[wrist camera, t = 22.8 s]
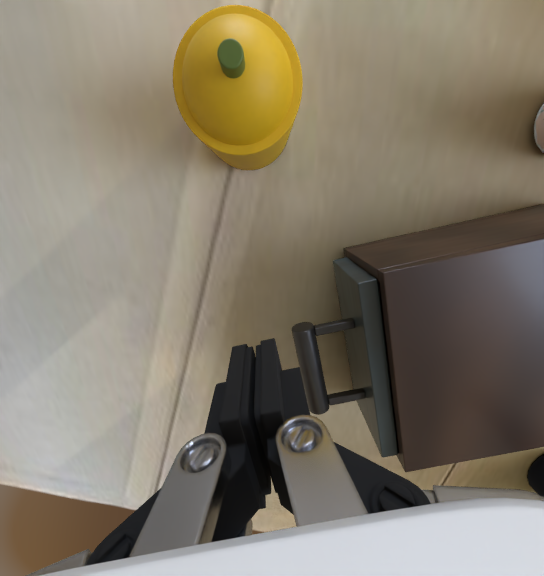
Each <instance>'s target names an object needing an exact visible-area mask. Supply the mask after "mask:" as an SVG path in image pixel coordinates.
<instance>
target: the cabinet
mask: <svg viewBox="0 0 544 576" xmlns="http://www.w3.org/2000/svg"><path fill="white" fill-rule="evenodd" d="M344 256H345V258H348V259H350V260H351V261H353V262H354V263H355V264H357V265H358V266H360V267H361V268H362V269H364V270H365V271H367V272H368V273H369V274H371V275H372V276H374V277H375V278H376V279H377V280H378V282H380V291H381V299H382V308H383V316H384V325H385V334H386V342H387V351H388V360H389V368H390V377H391V385H392V394H393V403H394V407H393V414H394V422H395V431H396V439H397V448H398V455H397V457H398V459H399V461H400V463H401V465H402V467H403V469H404V471H405V472H409V471H414V470H420V469H425V468H431V467H436V466H441V465H447V464H452V463H458V462H463V461H469V460H474V459H479V458H485V457H490V456H496V455H501V454H507V453H512V452H517V451H523V450H528V449H534V448H539V447H544V204H541V205H537V206H532V207H528V208H523V209H519V210H514V211H510V212H505V213H500V214H496V215H491V216H487V217H482V218H478V219H473V220H469V221H464V222H460V223H455V224H451V225H446V226H442V227H437V228H433V229H428V230H423V231H419V232H414V233H410V234H405V235H401V236H396V237H392V238H387V239H383V240H378V241H374V242H369V243H365V244H360V245H356V246H351V247H346V248H344ZM392 406H393V405H392Z"/></svg>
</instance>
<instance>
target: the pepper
mask: <svg viewBox="0 0 544 576" xmlns="http://www.w3.org/2000/svg"><path fill="white" fill-rule="evenodd" d="M173 87H174V94H175V98H176V102H177V105H178V108H179V111H180V113H181V115H182V117H183V119H184V121H185V122H186V124H187V125H188V127H189V128H190V129H191V131H192V132H193V133H194V134H195V135H196V136H197V137H198V138H199V139H200V140H201V141H202V142H203V143H204V144H205V145H206V146H208V147H209V148H210V149H211V150H212V151H213V152H214V153H215V154H216V155H217V156H218V157H220V158H221V159H222V160H223V161H224V162H226V163H227V164H229V165H230V166H232V167H235V168H238V169H241V170H256V169H260V168H263V167H265V166H267V165H269V164H270V163H272V162H273V161H274V160H275V159H276V158H277V157H278V156H279V155H280V154H281V152H282V151H283V149H284V147H285V145H286V143H287V140H288V137H289V134H290V132H291V129H292V126H293V123H294V120H295V117H296V115H297V112H298V109H299V105H300V101H301V96H302V70H301V65H300V61H299V57H298V54H297V51H296V49H295V47H294V45H293V43H292V41H291V39H290V38H289V36H288V35H287V33H286V32H285V31H284V29H283V28H282V27H281V26H280V25H279V24H278V23H277V22H276V21H275V20H274V19H273V18H271V17H270V16H268V15H267V14H265V13H263V12H261V11H259V10H257V9H255V8H251V7H248V6H242V5H227V6H222V7H219V8H216V9H213V10H211V11H209V12H207V13H205V14H204V15H202V16H201V17H200V18H198V19H197V20H196V21H195V22H194V23H193V24H192V25H191V26H190V28H189V29H188V30H187V32H186V33H185V35H184V36H183V38H182V40H181V42H180V44H179V47H178V50H177V52H176V56H175V60H174V67H173Z"/></svg>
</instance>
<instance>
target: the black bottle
mask: <svg viewBox="0 0 544 576" xmlns="http://www.w3.org/2000/svg"><path fill="white" fill-rule="evenodd" d="M527 478H528V482H529V485H530V486H531V487H532V488H533V489H534V490H535V491H536V492H537V493H538V495H540V496H543V497H544V455H542V456H540V457H539V458H538V459H537V460H536V461H535V462H534V463H533V464H532V466H531V467H530V469H529V471H528V477H527Z"/></svg>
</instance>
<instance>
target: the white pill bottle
mask: <svg viewBox="0 0 544 576" xmlns="http://www.w3.org/2000/svg"><path fill="white" fill-rule="evenodd" d="M534 138H535V141H536V144H537V146H538V147H539V148H540V150H541V151H542V152H544V103H543V105H542V106H541V108H540V110H539V112H538V114H537V116H536V120H535V124H534Z"/></svg>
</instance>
